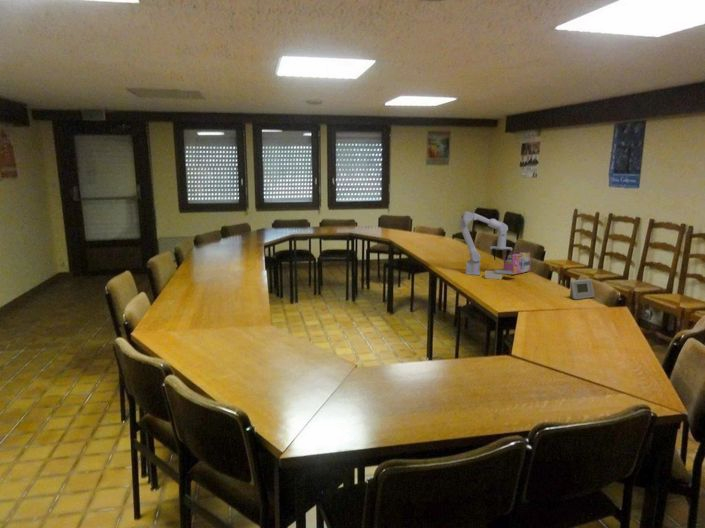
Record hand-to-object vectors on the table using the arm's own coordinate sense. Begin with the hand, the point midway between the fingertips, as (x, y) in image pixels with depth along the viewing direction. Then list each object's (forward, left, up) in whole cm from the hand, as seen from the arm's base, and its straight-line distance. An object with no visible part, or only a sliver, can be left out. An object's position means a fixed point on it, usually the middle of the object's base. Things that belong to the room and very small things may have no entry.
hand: (500, 260), depth 332 cm
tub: (-4, -12, -10) cm, 16 cm away
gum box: (+13, +10, -10) cm, 19 cm away
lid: (+4, -12, -6) cm, 14 cm away
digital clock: (+45, -47, -11) cm, 66 cm away
